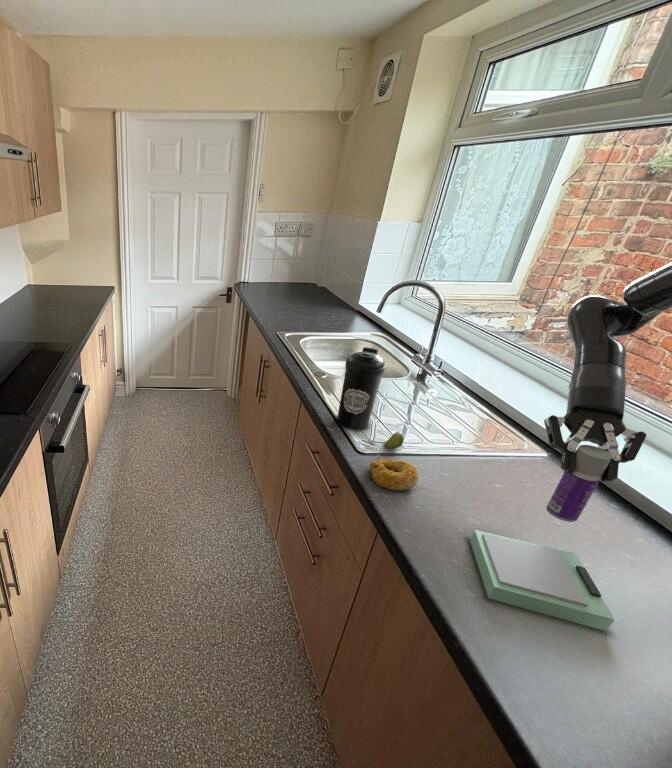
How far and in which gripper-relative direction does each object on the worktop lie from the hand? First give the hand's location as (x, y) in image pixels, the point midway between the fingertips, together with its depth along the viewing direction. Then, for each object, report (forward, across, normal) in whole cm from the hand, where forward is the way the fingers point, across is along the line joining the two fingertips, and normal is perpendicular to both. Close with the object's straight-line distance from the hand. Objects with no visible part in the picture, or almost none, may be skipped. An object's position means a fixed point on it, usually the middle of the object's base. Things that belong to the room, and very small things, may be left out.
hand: (587, 476), depth 76 cm
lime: (-3, -30, +27) cm, 40 cm away
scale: (+21, -5, +2) cm, 22 cm away
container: (+6, 0, +9) cm, 11 cm away
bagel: (+8, -29, +16) cm, 34 cm away
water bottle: (-9, -41, +33) cm, 53 cm away
